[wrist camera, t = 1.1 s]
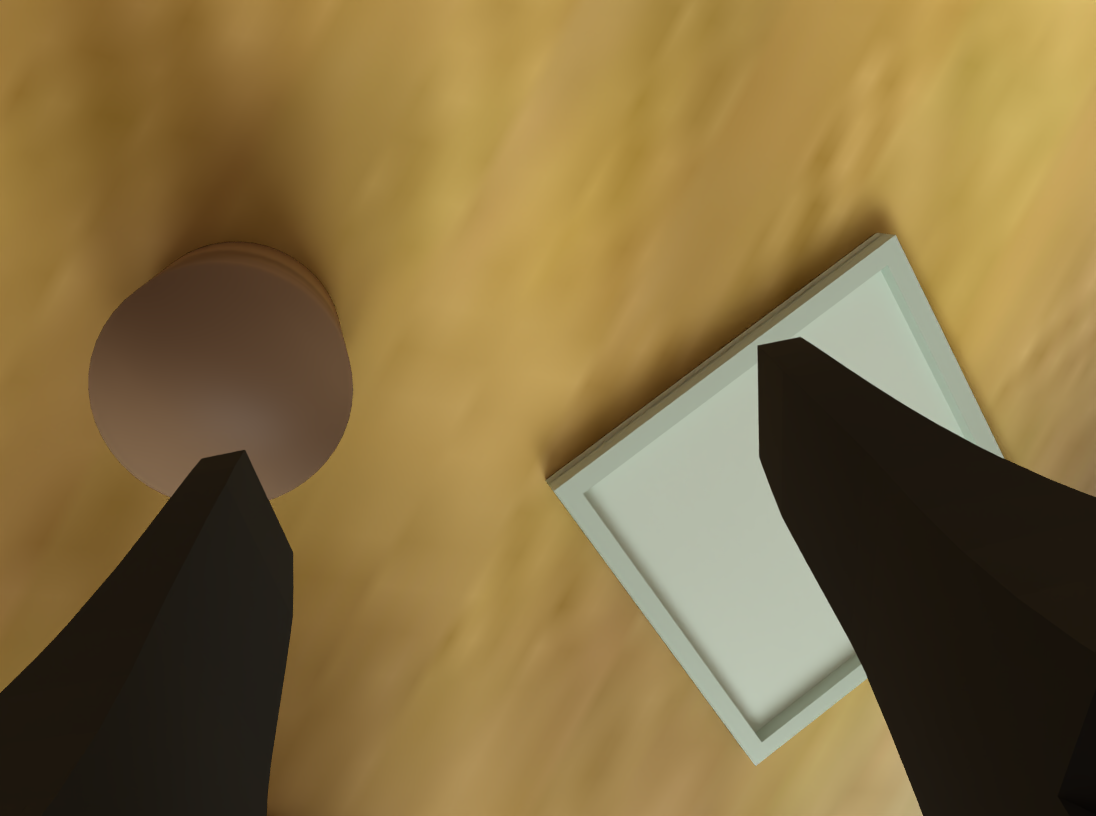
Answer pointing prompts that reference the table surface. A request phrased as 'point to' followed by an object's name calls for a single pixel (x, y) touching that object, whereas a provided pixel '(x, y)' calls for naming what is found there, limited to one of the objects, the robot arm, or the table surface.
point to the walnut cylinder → (223, 369)
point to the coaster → (756, 498)
